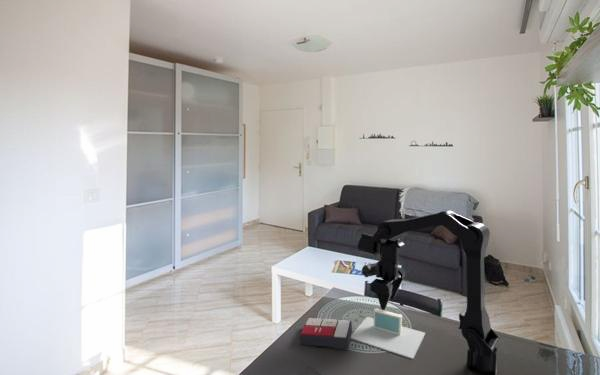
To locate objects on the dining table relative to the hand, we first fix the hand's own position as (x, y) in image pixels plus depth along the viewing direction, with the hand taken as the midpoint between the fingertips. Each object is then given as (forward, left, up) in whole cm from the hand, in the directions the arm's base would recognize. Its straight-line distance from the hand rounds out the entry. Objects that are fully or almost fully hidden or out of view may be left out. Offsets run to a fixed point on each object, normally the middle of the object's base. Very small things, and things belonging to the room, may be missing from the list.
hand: (387, 304), depth 106 cm
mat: (-1, +3, -9) cm, 10 cm away
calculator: (+15, +15, -9) cm, 23 cm away
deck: (0, 0, -9) cm, 9 cm away
